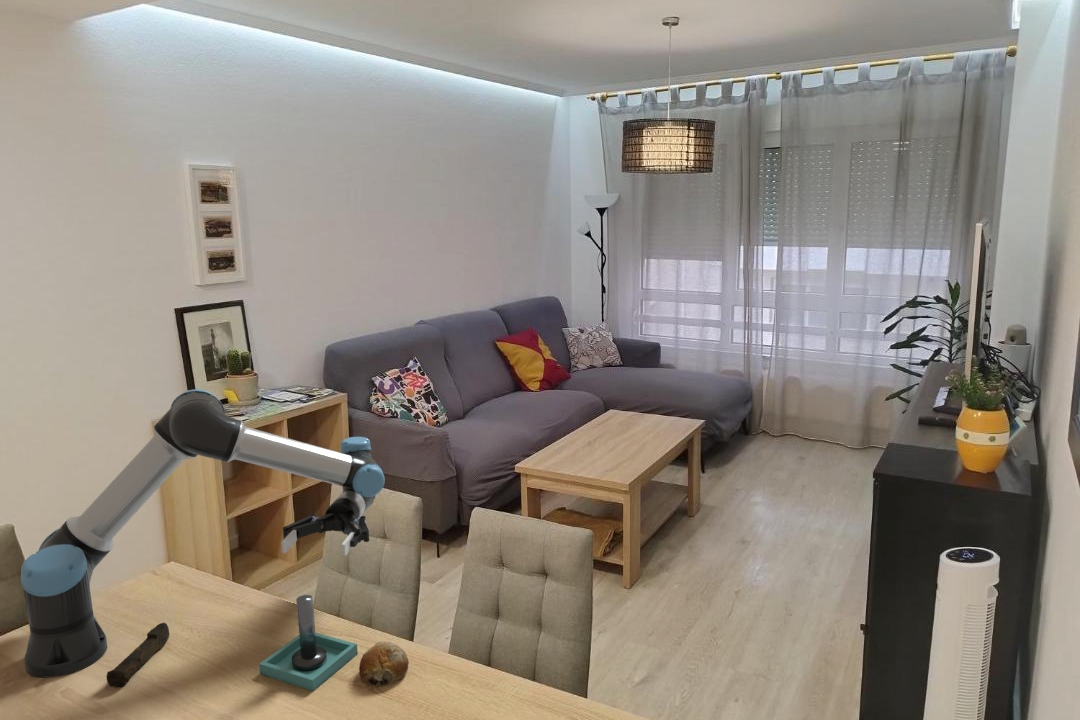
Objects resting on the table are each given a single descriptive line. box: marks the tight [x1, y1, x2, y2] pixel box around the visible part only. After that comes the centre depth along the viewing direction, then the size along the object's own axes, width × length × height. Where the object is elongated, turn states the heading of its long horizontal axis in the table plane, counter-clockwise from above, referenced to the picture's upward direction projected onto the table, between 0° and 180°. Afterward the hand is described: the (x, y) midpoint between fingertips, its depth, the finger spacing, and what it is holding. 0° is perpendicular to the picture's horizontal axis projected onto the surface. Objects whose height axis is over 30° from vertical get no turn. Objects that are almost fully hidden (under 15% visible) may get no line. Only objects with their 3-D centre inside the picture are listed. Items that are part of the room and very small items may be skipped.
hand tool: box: [106, 622, 170, 688], centre depth 165 cm, size 19×4×5 cm, turn 172°
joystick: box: [292, 594, 327, 672], centre depth 162 cm, size 7×7×14 cm
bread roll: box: [358, 641, 410, 687], centre depth 160 cm, size 10×10×8 cm
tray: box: [258, 631, 359, 692], centre depth 163 cm, size 14×14×2 cm
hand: (313, 549), depth 171 cm, fingers open, 13 cm apart
